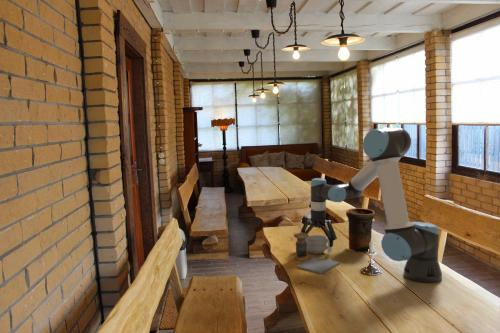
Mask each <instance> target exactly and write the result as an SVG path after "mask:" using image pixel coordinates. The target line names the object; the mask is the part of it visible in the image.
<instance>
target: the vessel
mask: <svg viewBox="0 0 500 333" xmlns="http://www.w3.org/2000/svg"><path fill="white" fill-rule="evenodd" d="M345 215H346V217H347V221H348V245H347V246H346V250H348V251H352V252H356V253H369V252H368V249H369V243H370V242H371V243H372V227H373V220H374V218H375V216H376V213H375V211H374V210H372V209H368V208H361V207H356V208H349V209H347V210H346V212H345Z"/></svg>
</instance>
